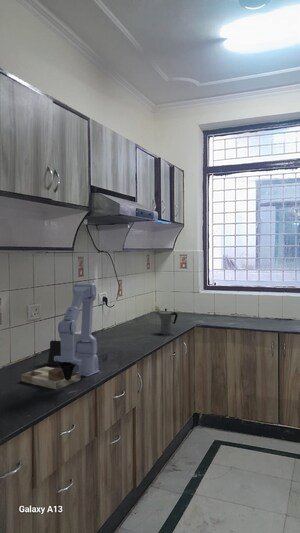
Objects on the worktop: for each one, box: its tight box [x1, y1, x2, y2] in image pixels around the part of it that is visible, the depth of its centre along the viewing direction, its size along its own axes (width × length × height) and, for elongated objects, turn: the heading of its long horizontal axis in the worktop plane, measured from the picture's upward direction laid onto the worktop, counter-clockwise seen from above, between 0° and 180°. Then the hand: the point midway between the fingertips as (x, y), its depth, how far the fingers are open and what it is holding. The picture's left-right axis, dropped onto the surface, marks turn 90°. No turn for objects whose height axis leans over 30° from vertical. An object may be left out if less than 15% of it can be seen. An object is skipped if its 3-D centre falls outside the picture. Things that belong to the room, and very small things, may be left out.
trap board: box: [20, 366, 82, 390], centre depth 183 cm, size 15×22×3 cm, turn 58°
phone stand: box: [47, 340, 62, 367], centre depth 212 cm, size 9×6×12 cm, turn 166°
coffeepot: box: [156, 308, 179, 336], centre depth 287 cm, size 15×9×18 cm, turn 70°
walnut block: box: [48, 367, 65, 381], centre depth 176 cm, size 5×5×4 cm
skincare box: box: [74, 330, 90, 359], centre depth 216 cm, size 8×7×16 cm
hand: (68, 379), depth 172 cm, fingers closed
